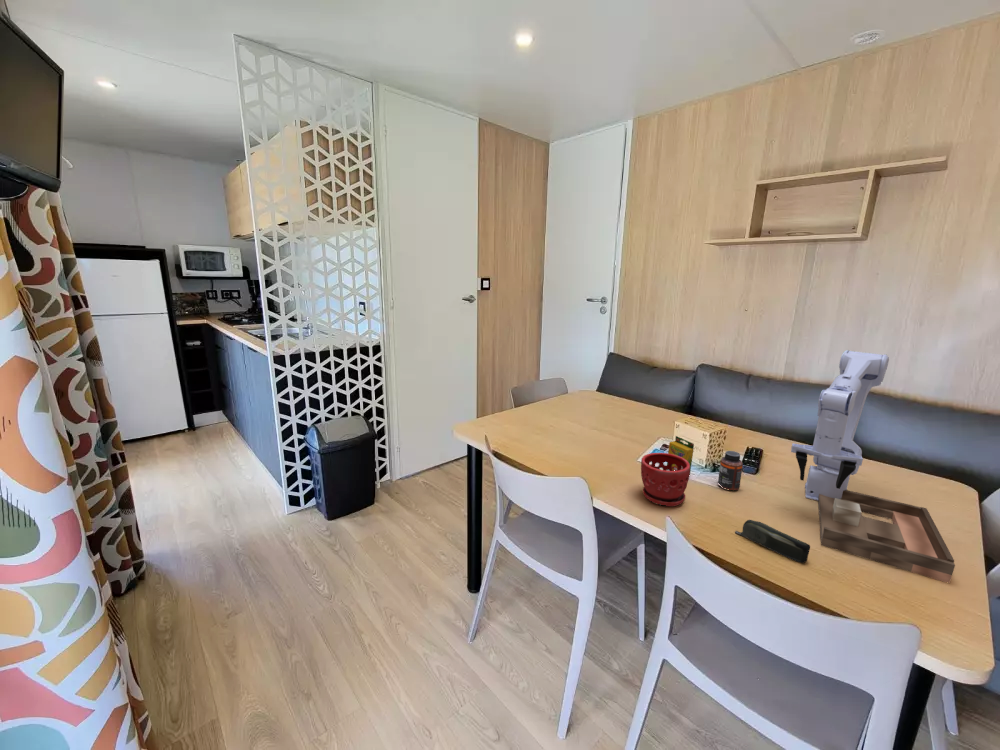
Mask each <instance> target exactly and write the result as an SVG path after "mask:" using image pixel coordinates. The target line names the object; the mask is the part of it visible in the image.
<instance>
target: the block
mask: <svg viewBox="0 0 1000 750" xmlns="http://www.w3.org/2000/svg"><path fill="white" fill-rule="evenodd" d="M832 516H833V520H835V521H838V522H842V523H846V524H850V525H853V526H857V527H858V524H859V520H860V516H861V509H860V505H859V504H857V503H853V502H849V501H845V500H841V499H837V498H835V500H834V504H833V509H832Z"/></svg>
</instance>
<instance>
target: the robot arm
mask: <svg viewBox="0 0 1000 750" xmlns="http://www.w3.org/2000/svg"><path fill="white" fill-rule="evenodd" d="M889 361H890V357H889V355H887V354H885V353H884V354H881V353H871V352H864V351H855V350H849V349H846V350H845V351H843V353H842V354H841V357H840V360H839V363H838V364H839V365H838V367H839V375H838V376H836V377H835V378H834V379H833V381H832V382H831V384H830V385H829V387H827V388H826V389H822V390H821V392H820V394H819V397H818V402H817V404H818V408H817V409H818V410H817V416H818V419H817V424H816V429H815V435H814V439H813V444H812V445H810V444H799V443H798V444H797V443H791V449H790V453H794V454H795V458H796V461H797V463H798V469H799V472H800V473H799V480H800V481H804V479H805V470H806V466H807V462H808V455H809V456H813V459H812V461H813V463H814V465H810V466H809V469H808V474H807V477H806V482H805V484H804V489H805V498H806V499H809V500H813V501H814V500H815V501H817V502H818V497H819V494H821V495H824V496H827V497H831V498H837V499H841V498H842V494H843V491H844V490H848V486H849V481H850V477H851V476H854V475H856V474H857V473H858V471H859V468H860V467H862V464H863V461H864V458H863V456H862V455H863V450H862V448H861V447H860V446H859V445H858V444H857V443H856V442H855V441H854V437H855V435H856V431H857V429H858V425H859V423H860V419H861V415H862V413H863V409H864V407H865V403H866V400H867V396H868V394H869V393H870V391H871V389H872V388H873V387H874V388H875V387H878V386H881V384H882V383H883V381H884V378H885V376H886V372H887V369H888V365H889Z"/></svg>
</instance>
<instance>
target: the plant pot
mask: <svg viewBox="0 0 1000 750" xmlns="http://www.w3.org/2000/svg"><path fill="white" fill-rule="evenodd" d="M640 462H641V463H640V474H641V481H642V485H643V489H642V494H643V495H644V498H646V499H647V500H648V499H649V500H648V501H650V502H651V501H652V502H651V503H653V502H654V503H653V504H655V503H657V504H656V505H658V504H661V505H666V506H665V507H676V506H679V505H681V504H682V503H683V502H684V501H685V500H686V493H685V491H686V489H687V488H688V487H687V486H688V482H689V479H690V476H691V471H690V464H689V462H688V461H687V460H685V459H684V458H682V457H680V456H677V455H673V454H668V452H652V453H647V454H645V455H643V456H642V458H641V460H640ZM650 463H651V464H650ZM665 463H666V465H665ZM667 463H668V465H667ZM656 464H658V466H656ZM673 464H675V465H676V466H677V468H678V470H677V471H674V470H673V469H672V465H673ZM681 466H682V467H683V470H682V469H681ZM668 469H669V470H668ZM689 475H690V476H689ZM661 505H660V506H661Z"/></svg>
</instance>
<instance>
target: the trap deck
mask: <svg viewBox="0 0 1000 750" xmlns="http://www.w3.org/2000/svg"><path fill="white" fill-rule="evenodd" d="M834 500H835V498H831V497H827V496H824V495H821V494H819V497H818V501H817V507H818V520H819V533H820V534H819V535H820V536H819V537H820V545H821V546H823V547H826V548H830V549H834V550H835V551H839V552H844V553H846V554H850V555H854V556H857V557H860V558H863V559H867V560H871V561H873V562H877V563H880V564H884V565H887V566H891V567H894V568H897V569H900V570H904V571H907V572H910V573H913V574H916V575H921V576H924V577H927V578H929V579H933V580H937V581H941V582H943V583H947V582H948V583H947V584H951V580H952V576H953V573H954V570H955V567H956V564H955V559H954V557H953V555H952V554H951V551H950V550H949V548H948V546H947V544H946V542H945V540H944V538H943V536H942V535H941V533H940V531H939V529H938V527H937V526H936V523H935V522H934V520H933V517H932V516H931V514H930V512H929V510H928V508H927V507H924V506H923V507H922V506H917V505H912V504H908V503H903V502H901V501H900V502H899V501H896V500H892V499H891V500H890V499H886V498H882V497H879V496H873V495H870V494H866V493H865V494H864V493H860V492H858V491H853V490H848V489H847V490H844V491H843V494H842V498H841V500H845V501H849V502H853V503H857V504H859V505H860V509H861V516H860V520H859V524H858V527H857V526H853V525H850V524H846V523H842V522H838V521H835V520H833V516H832V509H833V504H834ZM863 513H865V514H869V515H874V516H878V517H882V518H886V519H889V520H891V521H892V522H888V521H885V520H881V519H876V518H872V517H867V516H864V515H863Z"/></svg>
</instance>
